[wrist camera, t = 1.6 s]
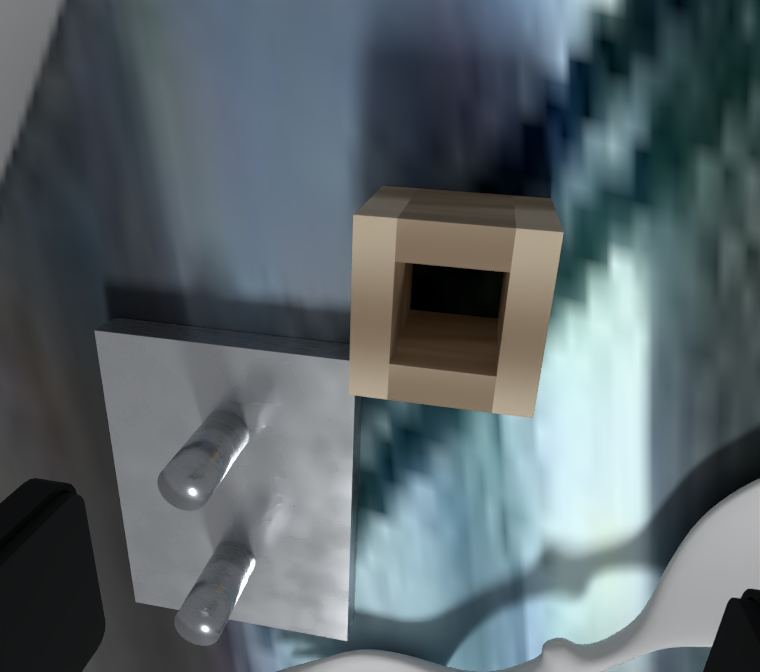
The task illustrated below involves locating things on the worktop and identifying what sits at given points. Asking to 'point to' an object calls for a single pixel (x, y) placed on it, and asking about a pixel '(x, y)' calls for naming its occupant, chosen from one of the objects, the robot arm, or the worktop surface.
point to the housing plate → (235, 474)
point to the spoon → (658, 618)
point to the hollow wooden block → (444, 330)
